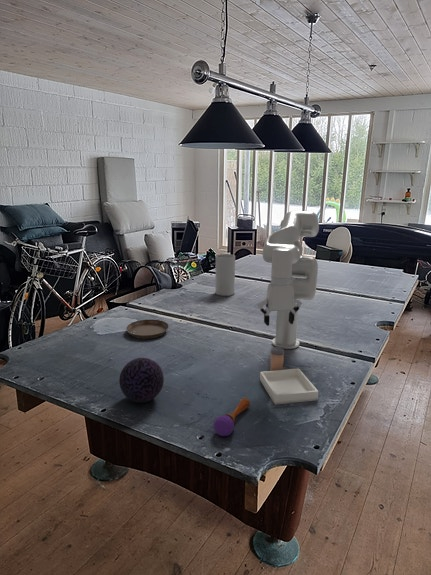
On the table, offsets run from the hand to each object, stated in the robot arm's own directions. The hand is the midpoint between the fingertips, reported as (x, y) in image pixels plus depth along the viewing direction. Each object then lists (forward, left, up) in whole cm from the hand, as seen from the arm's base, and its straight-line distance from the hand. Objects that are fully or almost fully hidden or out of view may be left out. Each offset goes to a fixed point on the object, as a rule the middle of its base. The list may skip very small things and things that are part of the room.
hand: (278, 323), depth 159 cm
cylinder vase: (-111, +3, -20) cm, 113 cm away
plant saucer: (-51, -49, -20) cm, 74 cm away
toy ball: (+12, -53, -20) cm, 58 cm away
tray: (+15, -1, -20) cm, 25 cm away
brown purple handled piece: (+31, -25, -20) cm, 45 cm away
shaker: (0, 0, -20) cm, 20 cm away
